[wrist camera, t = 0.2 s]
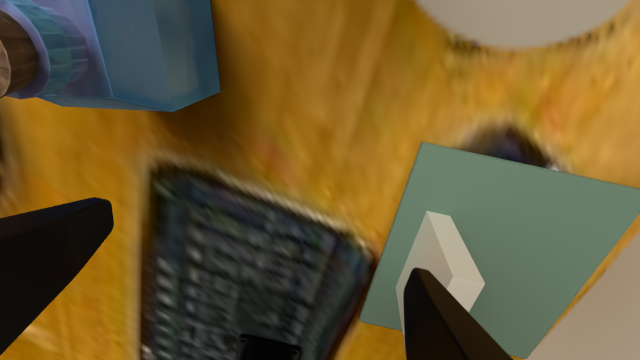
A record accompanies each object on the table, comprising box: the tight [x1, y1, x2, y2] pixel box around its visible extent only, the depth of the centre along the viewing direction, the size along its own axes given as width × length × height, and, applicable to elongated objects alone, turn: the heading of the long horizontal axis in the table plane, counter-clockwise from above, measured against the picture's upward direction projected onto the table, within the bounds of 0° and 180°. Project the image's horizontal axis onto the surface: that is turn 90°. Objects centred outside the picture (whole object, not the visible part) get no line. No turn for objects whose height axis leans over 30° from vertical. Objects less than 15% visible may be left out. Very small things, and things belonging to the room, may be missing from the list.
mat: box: [359, 142, 640, 359], centre depth 25 cm, size 18×16×1 cm
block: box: [396, 211, 485, 358], centre depth 22 cm, size 8×2×7 cm, turn 169°
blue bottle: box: [0, 0, 221, 112], centre depth 15 cm, size 6×6×12 cm
